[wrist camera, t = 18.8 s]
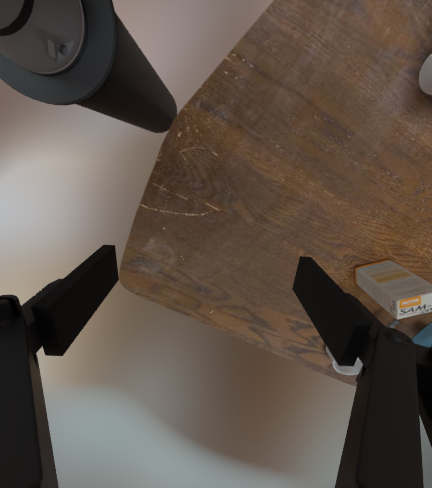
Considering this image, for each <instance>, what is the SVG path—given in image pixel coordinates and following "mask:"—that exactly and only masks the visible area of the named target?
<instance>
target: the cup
mask: <svg viewBox="0 0 432 488" xmlns="http://www.w3.org/2000/svg"><path fill="white" fill-rule="evenodd" d="M419 85H420V88H421V89H422V91H423V92H424V93H426V94H429V95H432V53H431V54H430V55H429V56H428V57H427V59H426V60H425V62H424V63H423V65H422V67H421V70H420V73H419Z"/></svg>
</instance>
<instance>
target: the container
mask: <svg viewBox="0 0 432 488" xmlns="http://www.w3.org/2000/svg"><path fill="white" fill-rule="evenodd" d="M411 340H412V341H413V342H414V343H415V344H418V345H422V346H426V347H431V346H432V322H431V323H430V324H429V325H428V326H426V327H425V328H424V329H423V330H422V331H420V332H419V333H418V334H417V335H416V336H415V337H413V338H412V339H411Z"/></svg>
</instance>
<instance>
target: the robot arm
mask: <svg viewBox="0 0 432 488" xmlns="http://www.w3.org/2000/svg"><path fill="white" fill-rule="evenodd" d="M87 37H88V21H87V14H86V9H85V5H84V2H83V0H0V52H1V53H2V54H3V55H4V56H6V57H7V58H8V59H10V60H11V61H12V62H14V63H15V64H17V65H19V66H20V67H22V68H24V69H27V70H29V71H31V72H33V73H36V74H40V75H44V76H56V75H61V74H64V73H66V72H68V71H69V70H71V69H72V68H73V67H74V66H75V65H76V64H77V63H78V62H79V60H80V59H81V57H82V55H83V53H84V50H85V47H86V43H87ZM118 280H119V278H118V270H117V260H116V251H115V245H103V246H102V247H101V248H99V249H98V250H97V251H96V252H95V253H93V254H92V255H91V256H90V257H89V258H88V259H86V260H85V261H84V262H83V263H82V264H80V265H79V266H78V267H77V268H76V269H75V270H73V271H72V272H71V273H70V274H69V275H68V276H66V277H65V278H64V279H58V280H56V281H54V282H52V283H50V284H48V285H47V286H46V287H44V288H43V289H42V291H39V292H38V293H37V294H36V296H33V297H32V298H31V299H29V300H28V301H27V302H26V303H24V304H23V305H22V306H21V305H20V302H19V299H18V297H17V296H14V295H2V296H0V488H58V481H57V475H56V469H55V463H54V456H53V450H52V444H51V438H50V432H49V426H48V419H47V413H46V407H45V401H44V395H43V388H42V382H41V376H40V369H39V364H38V358H37V355H36V353H37V351H38V350H39V349H40V348H41V347H42V346H43V349H44V352H45V355H50V356H63V355H64V353H65V352H66V350H67V349H68V348H69V346H70V345H71V344H72V342H73V341H74V340H75V338H76V337H77V336H78V334H79V333H80V331H81V330H82V329H83V327H84V326H85V325H86V323H87V322H88V321H89V319H90V318H91V317H92V315H93V314H94V312H95V311H96V310H97V308H98V307H99V306H100V304H101V303H102V302H103V300H104V299H105V298H106V296H107V295H108V293H109V292H110V291H111V289H112V288H113V287H114V285H115V284H116V283H117V281H118ZM292 289H293V291H294V292H295V294H296V296H297V297H298V299H299V301H300V302H301V304H302V306H303V307H304V309H305V311H306V312H307V314H308V316H309V317H310V319H311V321H312V322H313V324H314V326H315V327H316V329H317V331H318V332H319V334H320V336H321V338H322V339H323V341H324V343H325V344H326V346H327V348H328V349H329V351H330V353H331V354H332V356H333V358H334V359H335V361H336V363H337V364H338V366H351V367H354V365H355V362H356V360H357V358H359V360H360V361H361V362H362V364H363V365H362V368H361V370H360V372H359V374H358V376H357V378H356V381H357V382H358V383H357V388H356V393H355V397H354V402H353V406H352V411H351V416H350V420H349V425H348V430H347V434H346V439H345V443H344V448H343V452H342V457H341V462H340V466H339V471H338V475H337V480H336V485H335V488H424V487H423V469H422V454H421V438H420V437H421V436H420V420H419V414H420V417H421V419H422V422H423V425H424V428H425V430H426V433H427V436H428V439H429V441H430V444H431V446H432V346H431V347H426V346H422V345H418V344H415V343H414V342H413V341H412V340H411V339H410V338H409V337H408V336H407V335H405V334H404V333H402V332H400V331H398V330H396V329H393V328H390V327H385V326H384V325H383V324H382V323H381V322H380V321H379V320H378V319H377V318H376V317H375V316H374V315H373V314H372V313H371V312H370V311H368V309H367V308H366V307H365V306H363V304H362V303H361V302H360V301H359V300H358V299H357V298H355V297H354V296H352V295H351V294H349V293H344V291H343V290H342V289H341V288H340V287H339V286H338V285H337V284H336V283H335V282H334V281H333V280H332V279H331V278H330V277H329V276H328V275H327V274H326V273H325V272H324V271H323V269H322V268H321V267H320V266H319V265H318V264H317V263H316V262H315V261H314V260H313V259H312V258H311V257H302V256H300V259H299V263H298V268H297V272H296V276H295V280H294V284H293V288H292Z"/></svg>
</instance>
